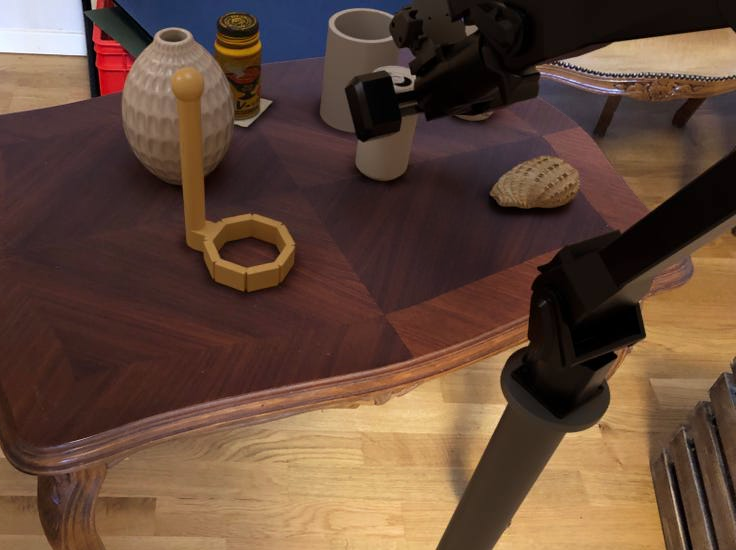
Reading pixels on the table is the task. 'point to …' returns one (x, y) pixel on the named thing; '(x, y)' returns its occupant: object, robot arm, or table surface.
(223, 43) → the condiment
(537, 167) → the seashell
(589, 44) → the robot arm
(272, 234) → the holder
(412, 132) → the beverage can
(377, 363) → the table surface
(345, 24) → the cup
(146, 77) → the vase
